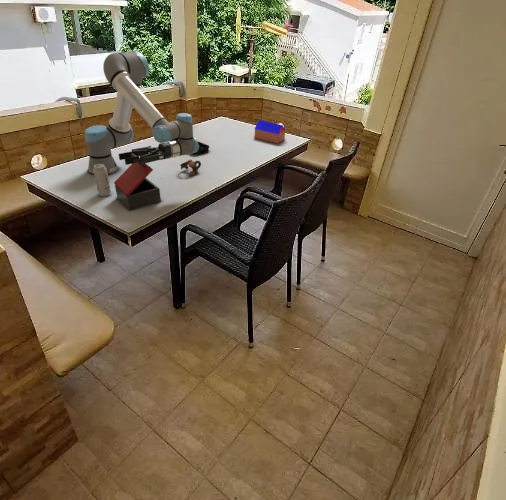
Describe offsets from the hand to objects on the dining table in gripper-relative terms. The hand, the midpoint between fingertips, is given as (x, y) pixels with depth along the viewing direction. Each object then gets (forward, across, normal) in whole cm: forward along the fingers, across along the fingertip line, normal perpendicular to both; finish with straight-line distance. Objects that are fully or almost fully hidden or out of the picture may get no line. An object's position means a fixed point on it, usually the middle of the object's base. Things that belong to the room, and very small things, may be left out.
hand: (122, 159), depth 157 cm
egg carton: (-64, +51, -22) cm, 85 cm away
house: (-125, +38, -22) cm, 133 cm away
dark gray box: (-5, 0, -22) cm, 22 cm away
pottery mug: (-43, +15, -19) cm, 49 cm away
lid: (-4, 0, -10) cm, 10 cm away
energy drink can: (+7, +14, -22) cm, 27 cm away
